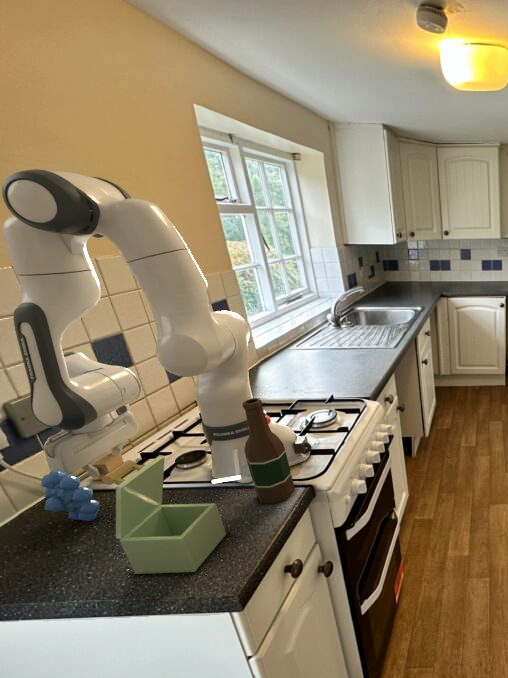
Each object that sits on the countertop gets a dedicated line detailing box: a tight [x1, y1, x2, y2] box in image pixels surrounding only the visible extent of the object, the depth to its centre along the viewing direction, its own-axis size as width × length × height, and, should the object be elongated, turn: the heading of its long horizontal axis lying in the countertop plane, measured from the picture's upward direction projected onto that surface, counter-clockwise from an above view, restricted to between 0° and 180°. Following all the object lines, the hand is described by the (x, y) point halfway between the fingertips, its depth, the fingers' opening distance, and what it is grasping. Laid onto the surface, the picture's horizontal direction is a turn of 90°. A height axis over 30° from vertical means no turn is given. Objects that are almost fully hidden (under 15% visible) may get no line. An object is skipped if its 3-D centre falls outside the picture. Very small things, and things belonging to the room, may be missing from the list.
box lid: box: [101, 454, 165, 540], centre depth 73 cm, size 11×10×5 cm
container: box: [119, 503, 227, 575], centre depth 78 cm, size 11×10×8 cm
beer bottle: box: [242, 397, 295, 504], centre depth 91 cm, size 8×8×24 cm
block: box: [92, 454, 125, 481], centre depth 102 cm, size 4×4×4 cm
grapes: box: [40, 471, 100, 522], centre depth 85 cm, size 12×7×12 cm, turn 77°
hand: (107, 468), depth 102 cm, fingers closed on block, 4 cm apart
